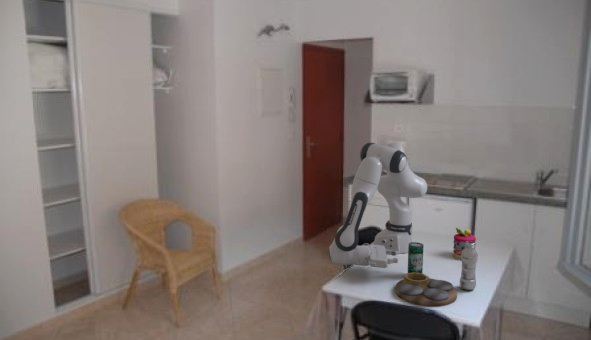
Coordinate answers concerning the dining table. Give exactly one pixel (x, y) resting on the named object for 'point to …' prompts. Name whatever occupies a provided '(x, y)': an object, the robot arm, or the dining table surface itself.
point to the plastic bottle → (468, 266)
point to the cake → (461, 242)
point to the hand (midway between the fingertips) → (396, 256)
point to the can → (415, 257)
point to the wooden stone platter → (425, 290)
